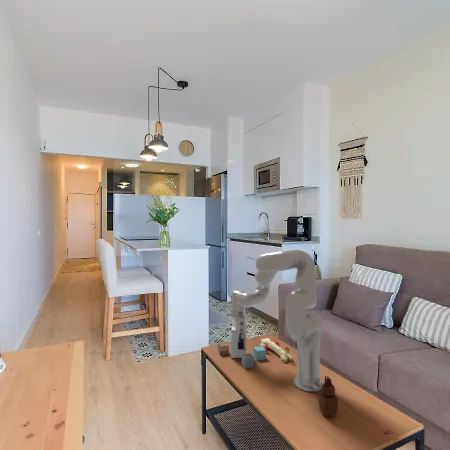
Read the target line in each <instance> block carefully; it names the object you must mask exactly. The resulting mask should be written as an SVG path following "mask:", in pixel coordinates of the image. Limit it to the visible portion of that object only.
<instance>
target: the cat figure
mask: <svg viewBox="0 0 450 450" xmlns="http://www.w3.org/2000/svg"><path fill="white" fill-rule="evenodd" d="M259 342H260V344H259V347H260V346H262V347H263V348H264V349H265V350H266V354H267V353H268V352H269V351H268V349H271V351H274V352H275V353H276V354H277V355H278V356H280V359H281V361H282V362H283V363H284V364H285V363H287V362H288V361H289V362H294V358H293V356H292V355H290V354H289V353H290V348H289V347H288V345H287V346H285V348H284V349H285V350H284V349H283V348H281V345H280V343H279V342H278V341H276V340H275V342H274V341H272V340H271V339H270V338H268V337H266V338H261V339H260V341H259Z"/></svg>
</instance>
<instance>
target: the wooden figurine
mask: <svg viewBox="0 0 450 450" xmlns="http://www.w3.org/2000/svg"><path fill="white" fill-rule="evenodd" d="M332 383H333V382H332V379H331V378H330V377H329V375H327V376H326V375H324V382H323V385H322V387H321V390H320V391H321V394H320V395H319V397H318V408H319V411H320V412H321V414H322V415H323V416H324V417H326V418H332V417H334V416H336V414H337V411H338V407H339V401H338V396H337V395H336V387H335V385H334V384H332Z"/></svg>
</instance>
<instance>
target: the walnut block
mask: <svg viewBox="0 0 450 450" xmlns="http://www.w3.org/2000/svg"><path fill="white" fill-rule="evenodd" d="M218 352H219V353H218ZM217 353H218V354H219V355H220V356H226V355H225V354H227V355H229V354H230V345H229V343H228V342H227V341H222V342H217Z"/></svg>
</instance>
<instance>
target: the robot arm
mask: <svg viewBox="0 0 450 450" xmlns="http://www.w3.org/2000/svg"><path fill="white" fill-rule="evenodd" d="M255 268H256V269H257V271H256V273H255V274H254V279H255V281H256V282H257V283H258V284H257V286H256V288H255V289H254V290H252V291H251V290H250V291H248V292H246V291H245V290H243V289H234V290H232V291H231V317H232V327H233V328H234V329H235V330H236V335H237V336H238V341H239V342H238V350H240V349H244V336H246V337H247V332H246V331H247V327H246V326H247V325H246V313H247V312H246V309H248V308H252V307H255V306H258V305H259V306H260V304H262V303H263V302H264V301H265V299H266V298H267V297H268V295H269V294H270V289H271V282H272V281H273V279H274V278H275V277H276V275H277V273H278V272H282V271H290V270H294V269H296V271H297V272H296V274H295V290H293V291H291V292H290V293H288V294H287V296H286V298H285V303H284V304H285V320H286V328H287V332H288V334H289V336H290V337H291V339H293V340H295V341H297V376H296V377H294V379H293V384H294V385H295V387H297V389H299V390H302V391H305V392H319V391H321V387H322V385H323V384H324V382H323V380H321V377H320V373H321V372H320V370H321V369H320V366H321V364H320V363H321V360H320V359H321V357H320V354H321V353H320V352H321V349H320V348H321V336H322V328H323V324H322V320H321V318H320V316H319V315H318V314H317V313H315V312H312V309H314V308H315V307H316V306H317V304H318V298H317V286H316V285H317V284H316V274H315V273H316V268H315V262H314V259H313V258H312V256H311V255H310V254H309V253H307V252H306V251H304V250H302V249H301V250H300V249H291V250H290V249H289V250H283V251H276V252H270V253H262V254H261V255H259V256H258V257H257V258H256V260H255ZM310 310H311V311H310ZM240 334H241V336H239V335H240ZM240 337H241V338H240Z"/></svg>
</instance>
